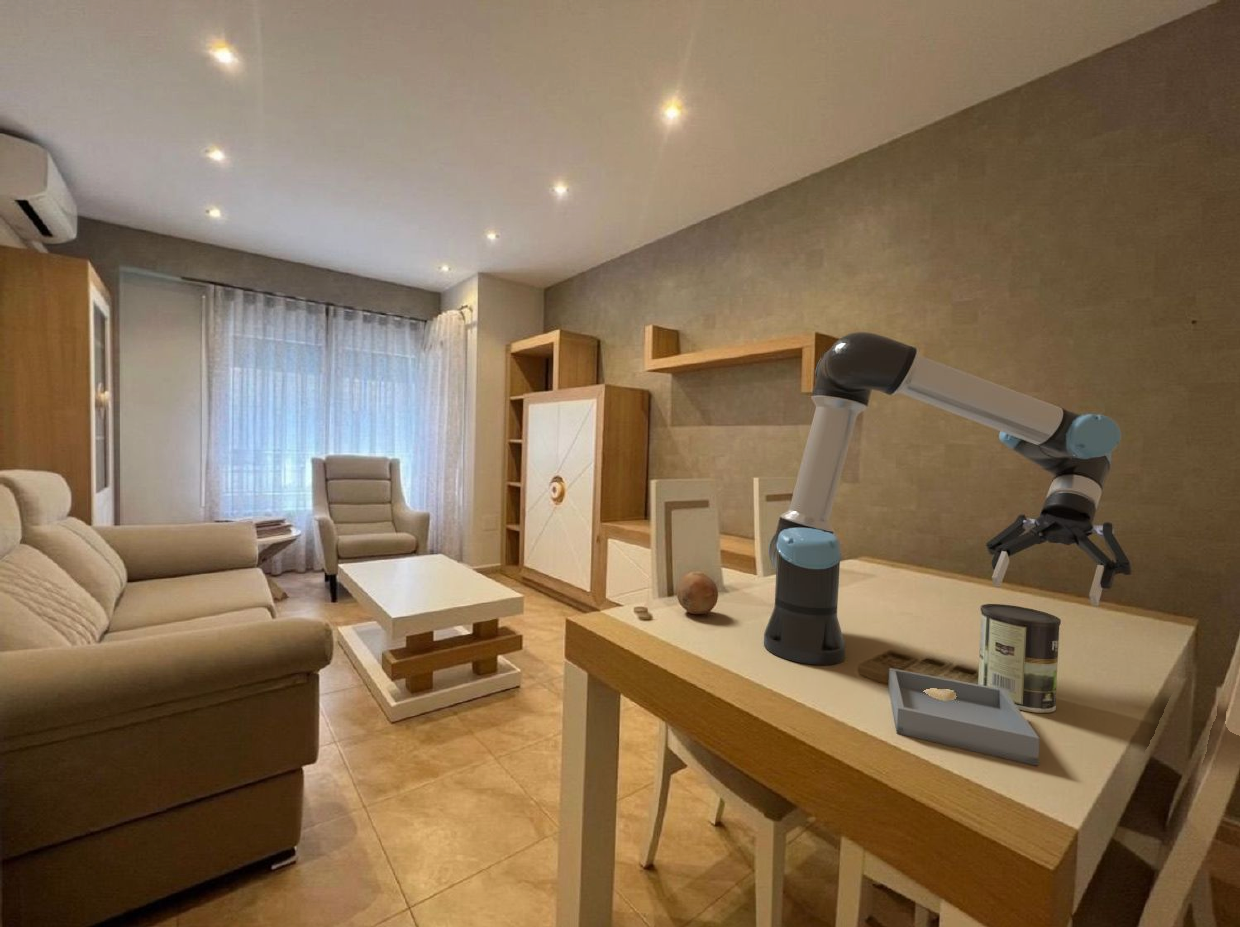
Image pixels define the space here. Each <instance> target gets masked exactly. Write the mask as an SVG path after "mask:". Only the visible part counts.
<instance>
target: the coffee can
mask: <svg viewBox="0 0 1240 927" xmlns="http://www.w3.org/2000/svg"><path fill="white" fill-rule="evenodd" d="M980 613H981V614H980V616H981V617H980V636H979V639H980V640H979V655H978V656H979V657H978V678H977V679H978V680H977V684H978V685H984V686H989V687H994V688H1000V689H1004V690H1005V691H1006V692H1007V694H1008V695H1009V697H1010V698H1011V699H1012V701H1013V702H1014V704H1015V705H1016V706H1017V708H1018V709H1019V711H1024V712H1029V713H1037V714H1050V713H1053V712H1055V711H1056V710H1057V681H1058V662H1059V659H1058V658H1059V644H1060V643H1059V642H1060V641H1059V640H1060V626H1061V622H1062V621H1061V619H1060V618H1059V617H1058V616H1056V615H1054V614H1051V613H1049V612H1045V611H1041V610H1037V609H1033V608H1028V607H1023V606H1016V605H1010V604H1003V603H986V604H981V605H980Z"/></svg>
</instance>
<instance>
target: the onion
mask: <svg viewBox="0 0 1240 927" xmlns="http://www.w3.org/2000/svg"><path fill="white" fill-rule="evenodd" d="M676 597H677V600H678V601H677V602H678V603H679V604H680V606H681V607H682V608H683V609H684V610H685V611H686V612H688V613H690V614H692V615H704V614H708V613H710V612H711V611H712V610H713V609H714V608H715V606H716V604H717V603H718V599H719V590H718V587H717V585H716V583H715V582H714V580H713V579H712V578H711V577H710V576H709V575H707V574H706V573H704V572H701V571H691V572H688V573H686V574H685V575H684V576H683V577H682V579H681V580H680V582H679V584H678V586H677V591H676Z"/></svg>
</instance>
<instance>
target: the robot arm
mask: <svg viewBox="0 0 1240 927" xmlns="http://www.w3.org/2000/svg"><path fill="white" fill-rule="evenodd" d="M814 373H815V374H814V375H815V382H814V386H813V389H812V390H813V391H812V394H811V398H810V399H811V400H812V402H813V404H814V405H815V411H814V414H813V419H812V422H811V426H810V430H809V434H808V437H807V441H806V445H805V448H804V452H803V456H802V459H801V463H800V466H799V471H798V475H797V479H796V482H795V486H794V490H793V493H792V496H791V501H790V506H789V508H788V510H787V511H784V513H782V514H780V516H779V520H778V523H777V526H776V530H775V533H774V535H773V536H772V538H771V540H770V541H769V542H770V543H769V546H768V554H769V555H768V556H769V559H770V562H771V565H772V566H773V568H774V570H775V586H774V587H775V588H774V589H775V590H774V607H773V610H772V613H771V614H770V618H769V620H768V623H767V625H766V628H765V630H764V632H763V646H764V648H765V649H766V650H767V651H768V652H770V653H771V654H772V655H773V654H774V655H776V656H777V657H780V658H782V659H786V660H788V661H792V662H797V663H801V664H808V665H817V666H818V665H821V666H822V665H823V666H826V665H827V666H828V665H835V664H840V663H842V662H844V660H845V658H846V642H845V640H844V636H843V633H842V629H841V625H840V623H839V622H840V621H839V618H838V605H839V604H838V602H839V586H840V584H839V583H840V582H839V581H840V566H841V565H840V564H841V558H842V551H841V543H840V540H839V538H838V537H837V536H836V535H834V532H835V529H834V528H833V526H832V524H831V523H830V517H831V513H832V510H833V506H834V502H835V498H836V494H837V491H838V488H839V484H840V480H841V476H842V472H843V470H844V464H845V461H846V457H847V454H848V450H849V446H850V442H851V439H852V437H853V432H854V428H855V426H856V421H857V416H858V415H859V414H860V413H862V412H864V411H866V410H867V409H868V406H869V401H870V399H871V398H870V397H871V394H872V391H876V392H881V393H883V394H884V393H885V394H886V395H889V396H894V395H897V394H902V395H904V396H907V397H910V398H912V399H915V400H918V401H920V402H923V403H925V404H928V405H931V406H933V407H936V408H939V409H941V410H944V411H947V412H949V413H951V414H954V415H957V416H960V417H962V418H964V419H968V420H970V421H973V422H976V423H978V424H981V425H983V426H986V427H987V428H988V427H989V428H992V429H993V430H996V431H998V432H999V431H1000V432H999V435H998V438H999V441H1000V442H1001V443H1002V444H1004V445H1005V446H1007V448H1009V449H1010V450H1011V451H1013V452H1015V453H1017V454H1019V455H1020V456H1022V457H1023V458H1025V459H1027V460H1028V461H1030V462H1031V463H1033V464H1035V465H1036V466H1038V467H1040V468H1041V469H1042V470H1045V471H1046V472H1048V473H1049V474H1050V475H1052V481H1051V484H1050V487H1049V490H1048V492H1047V494H1046V498H1045V500H1044V503H1043V505H1042V509H1041V512H1040V515H1038V516H1039V517H1037V518H1036V519H1035V518H1034V519H1033V518H1029V517H1028V518H1027V516H1026V515H1025V514H1019V515H1018V516H1017V517H1016V519H1015V521H1014V522H1013V523H1011V524H1010V525H1008V526H1007V527H1006V528H1005V529H1004V530H1002V531H1001V532H999V533H998V534H997V535H995V536H994V537H993V538H991V539H990V540H989V541H987V542H986V548H987V551H988V554H990V555H992V556H993V558H992V560H991V561H990V562H991V566H992V569H993V573H992V574H991V580H992V583H993V585H994V587H996V588H997V587H998V588H1000V587H1001V586H1002V583H1003V580H1004V577H1005V574H1006V572H1007V570H1008V567H1009V564H1010V561H1011V560H1010V558H1009V557H1011V556H1013V555H1016V554H1017V553H1019V552H1021V551H1024V550H1026V549H1028V548H1031V547H1032V546H1034V545H1041V544H1044V543H1046V542H1048V543H1050V544H1063V545H1067V546H1071V545H1072V544H1073V545H1074V544H1075V545H1076V546H1077V547H1078V548H1079V549H1080V550H1082V551H1084V553H1086V554H1087V555H1088V556H1089V558H1091V560H1092V561H1093V562H1094V563H1095V564H1096V565H1097V566H1096V570H1095V573H1094V577H1093V580H1092V583H1091V586H1090V590H1089V593H1088V595H1089V600H1090V604H1091V605H1092V606H1094V607H1099V603H1100V600H1101V596H1102V592H1103V589H1107V590H1110V589H1112V587H1113V583H1114V579H1115V576H1116V575H1118V574H1122V575H1125V576H1128V575H1129V576H1130V575H1132V572H1133V571H1132V567H1131V563H1130V560H1129V559H1128V557H1127V555H1126V554H1125V552H1124V550H1123V549H1122V547H1121V545H1120V543H1119V542H1118V540H1117V538H1116V537H1115V532H1114V527H1113V523H1111V522H1104V523H1103V524H1102V525H1097V524H1096V525H1094V524H1093V523H1094V520H1095V516H1096V512H1097V508H1098V505H1099V502H1100V499H1101V496H1102V492H1103V489H1104V485H1105V483H1106V480H1107V476H1108V474H1109V472H1110V471H1111V470H1110V469H1111V462H1112V452H1113V451H1115V449H1116V448H1118V446H1119V443H1120V441H1121V439H1122V433H1121V432H1122V431H1121V428H1120V427H1119V425H1118V423H1117V422H1116V421H1115V420H1114V419H1113V418H1111V417H1109V416H1106V415H1103V414H1100V413H1099V414H1094V413H1085V414H1080V413H1077V412H1075V411H1072V410H1069V409H1066V408H1063V407H1059V406H1057V405H1055V404H1052V403H1049V402H1046V401H1043V400H1040V399H1038V398H1036V397H1034V396H1030V395H1028V394H1024V393H1022V392H1019V391H1016V390H1013V389H1012V388H1008V387H1006V386H1003V385H1001V384H997V383H995V382H993V381H990V380H986V379H984V378H982V377H978V376H976V375H973V374H971V373H968V372H965V371H963V370H960V369H957V368H954V367H951V366H949V365H946V364H944V363H941V362H938V361H935V360H933V359H930V358H927V357H924V356H922V355H921V353H920V351H919V349H918V348H917V347H914V346H912V345H909V344H906V343H904V342H901V341H897V340H895V339H892V338H889V337H887V336H884V335H880V334H877V333H872V332H868V331H867V332H866V331H859V332H851V333H849V334H846V335H843V336H842V337H841V338H839V339H838V340H836V341H835V342H834V344H832V346H831V348H829V349H828V350H827V351H826V352H824V354H823V355H822V356H821V357H820V359H819V361H818V363H817V366H816V369H815V371H814ZM1031 527H1032V528H1031ZM1025 531H1027V532H1026V533H1024V532H1025ZM1093 534H1096V535H1097V536H1098V538H1101V539H1102V540H1104V543H1105V545H1106V547H1107V548H1108V550H1109V553H1110V554H1111V556H1112V558H1113V559H1112V560H1111V559H1110V558H1109V556H1107V555H1106V554H1105V553H1104V552H1103V551H1102V550H1101V549H1100V548H1099V546H1097V545H1096V543H1094V542H1093V541H1092V540H1091V539H1090V538H1089V537H1090V536H1092V535H1093ZM1114 561H1115V562H1114Z"/></svg>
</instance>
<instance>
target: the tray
mask: <svg viewBox="0 0 1240 927" xmlns="http://www.w3.org/2000/svg"><path fill="white" fill-rule="evenodd" d="M930 688H937V689H950V690H954V692H955V693H956V696H957V697H956V699H954V700H948V701H943V700H939V699H936V698H933V697H931V696H929V695H928V694H926V693H925V692H923V691H924V690H926V689H930ZM887 689H888V694H889V699H890V705H891V711H892V715H893V716H892V717H893V721H894V726H895V731H896V734H898V735H902V736H906V737H910V738H916V739H920V740H923V741H928V742H932V743H936V744H941V745H946V746H950V747H953V748H959V749H962V750H966V751H971V752H974V753H979V754H985V755H987V756H992V757H998V758H1000V759H1005V760H1009V761H1013V762H1014V761H1015V762H1019V763H1022V764H1026V765H1030V766H1031V765H1032V766H1036V767H1038V766H1039V757H1040V756H1039V755H1040V738H1039V736H1038V734H1037V733H1036V732H1035V730H1034V729H1033V727H1032V726H1031V725H1030V723H1029V721H1028V720H1027V719H1026V717H1025V716H1024V714H1023V713H1022V712H1021V710H1019V709H1018V708H1017V706H1016V705H1015V704H1014V702H1013V701H1012V699H1011V698H1010V697H1009V695H1008V694H1007V692H1006V691H1005V690H1004V689H1000V688H994V687H989V686H984V685H978V683H973V682H968V681H967V682H966V681H962V680H956V679H951V678H947V677H946V678H945V677H940V676H935V675H930V674H929V675H928V674H924V673H918V672H913V671H908V670H903V669H897V668H892V667H889V670H888V688H887Z"/></svg>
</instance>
